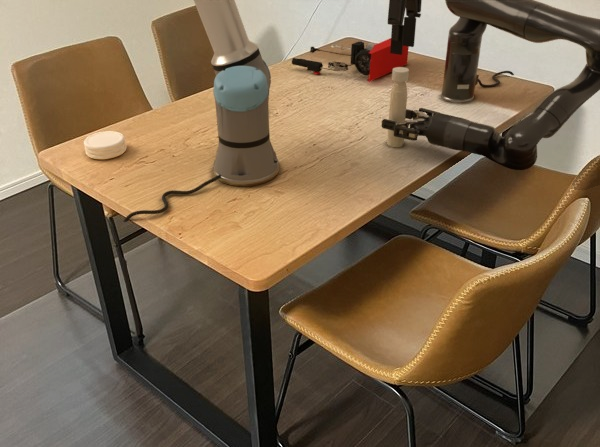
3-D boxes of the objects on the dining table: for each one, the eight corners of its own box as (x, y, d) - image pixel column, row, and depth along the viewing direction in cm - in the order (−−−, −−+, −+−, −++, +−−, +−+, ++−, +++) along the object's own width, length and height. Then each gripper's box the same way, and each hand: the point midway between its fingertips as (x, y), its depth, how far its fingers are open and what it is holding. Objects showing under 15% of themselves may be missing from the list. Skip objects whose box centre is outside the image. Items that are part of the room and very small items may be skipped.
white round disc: (96, 164, 150) (94, 150, 148) (79, 150, 156) (76, 138, 154) (134, 151, 155) (131, 138, 153) (115, 139, 162) (113, 127, 160)
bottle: (397, 148, 155) (402, 75, 145) (383, 144, 157) (388, 71, 147) (406, 143, 157) (412, 70, 147) (393, 139, 160) (398, 67, 150)
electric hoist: (290, 38, 202) (370, 53, 187) (334, 24, 221) (410, 36, 206) (290, 69, 207) (368, 86, 192) (333, 52, 226) (407, 67, 211)
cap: (402, 83, 146) (402, 73, 145) (388, 79, 148) (389, 69, 147) (411, 78, 148) (412, 69, 147) (397, 75, 151) (398, 65, 149)
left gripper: (411, -65, 141) (403, 37, 153) (374, -53, 127) (369, 58, 139) (443, -63, 137) (432, 41, 150) (409, -51, 124) (400, 63, 136)
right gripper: (436, 157, 144) (375, 141, 152) (461, 136, 153) (403, 121, 161) (440, 127, 140) (377, 112, 148) (465, 107, 149) (405, 94, 157)
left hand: (402, 49), depth 144 cm, fingers open, 6 cm apart
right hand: (390, 117), depth 155 cm, fingers open, 8 cm apart
